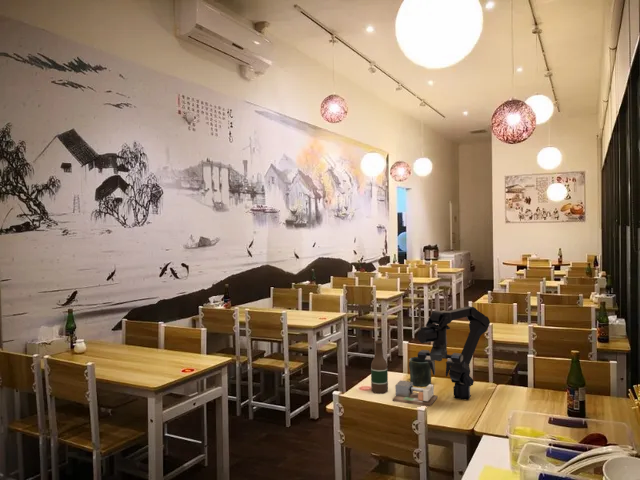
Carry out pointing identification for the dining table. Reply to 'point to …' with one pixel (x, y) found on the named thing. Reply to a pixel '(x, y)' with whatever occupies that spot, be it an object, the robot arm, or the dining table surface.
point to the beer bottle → (379, 371)
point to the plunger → (425, 392)
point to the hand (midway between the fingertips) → (440, 375)
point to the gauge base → (415, 399)
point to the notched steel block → (404, 389)
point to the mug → (419, 372)
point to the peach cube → (420, 396)
